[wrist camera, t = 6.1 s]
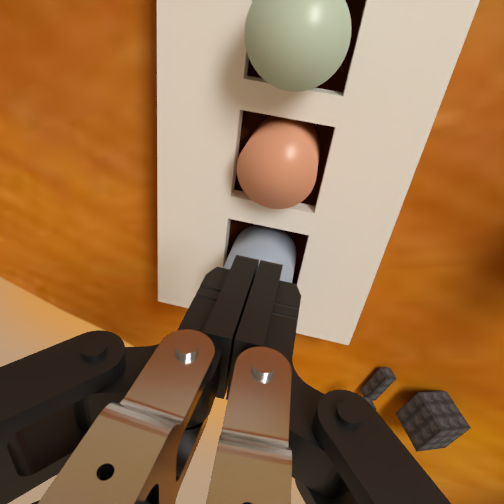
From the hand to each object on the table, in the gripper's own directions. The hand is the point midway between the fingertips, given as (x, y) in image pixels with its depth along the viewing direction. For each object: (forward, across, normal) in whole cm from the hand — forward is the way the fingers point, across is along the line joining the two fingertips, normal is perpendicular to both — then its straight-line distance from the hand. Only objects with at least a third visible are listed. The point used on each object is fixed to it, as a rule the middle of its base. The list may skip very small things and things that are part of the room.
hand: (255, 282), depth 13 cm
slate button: (+12, +1, +7) cm, 14 cm away
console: (+14, +1, 0) cm, 14 cm away
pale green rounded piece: (+12, +1, -6) cm, 13 cm away
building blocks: (+14, -12, +19) cm, 27 cm away
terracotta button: (+14, +1, 0) cm, 14 cm away
